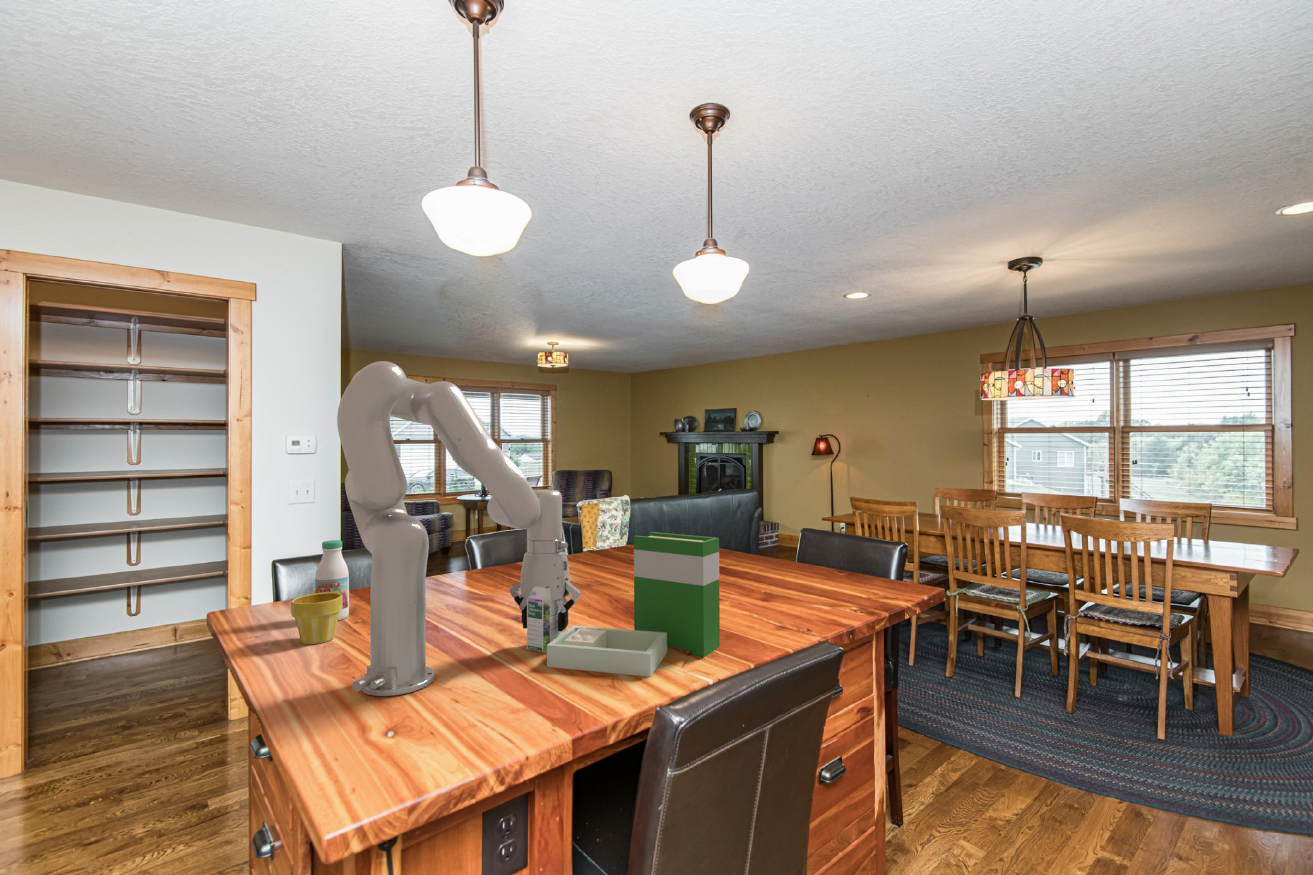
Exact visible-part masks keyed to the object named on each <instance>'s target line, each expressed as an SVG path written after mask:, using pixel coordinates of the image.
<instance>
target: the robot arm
mask: <svg viewBox="0 0 1313 875" xmlns="http://www.w3.org/2000/svg"><path fill="white" fill-rule="evenodd" d="M391 417H394V418H397V419H400V420H401V419H402V420H405V421H407V422H408V421H410V422H412V423H418V424H422V425H427V426H431V428H432V429H433V431H434V432H435V434H436V435H437V436H438V438H439V440H440V442H442V444H443V446H444V447H445V449H446V450H447V452H448V453H449V455H450V456H451V458H452V460H453V461H454V462H455V464H456V465H457V466H459V468H461V469H462V470H463V471H464V472H465V473H467V474H468V475H470V476H472V477H473V478H475V480H477V481H478V482H479V483H480V484H481V485H483V486H484V488H485V489H486V490H487V491H488V492H489V493H490V495H491V497H490V499H489V500H488V503H487V506H486V507H487V508H486V509H487V514H488V517H489V518H490V519H492V521H493V522H495V523H496V524H498V525H501V526H504V527H508V528H509V527H510V528H513V529H517V530H526V552H525V553H524V555H523V560H522V565H521V570H520V571H521V572H520V581H519V582H517V583H516V584H514V585H513V586H512V587H510V588H509V590H508V591H509V593H510V595H511V597H512V598H513V600H514V602H515V603H516V604H517V605H518V608H519V610H521V623H522V629H526V630H527V598H528V597H529V595H530V593H531V591H532V589H533V588H534V587H550V592H551V600H552V601H555V602H556V603H557V605H558V607H559V609H560V612H559V613H558V631H565V630H566V629H567V627H568V626H569V610H570V609H571V608H572V607H573V606H574V605H575V604H576V602H577V601H579V598H580V597H581V596H582V592H581V590H579V589H578V588H577V587H575V585H573V584H572V583H571V576H570V567H569V561H568V556H567V552H566V551H563V550H565V549H568V546H569V544H568V542H566V541H564V538H563V496H562V493H561V492H560V491H559V490H556V489H533V488H532V486H531V484H530V483H529V481H528V480H527V478H526V477H525V475H524V473H522V471H521V470H520V468H518V466H517V465H516V464H515V463H514V462H513V460H511V459H510V457H509V456H507V454H506V453H505V452H504V451H503V449H501V448H500V447H499V445H497V444H496V442H495V441H494V440H493V438H492V437H491V435H490V434H489V432H488V430H487V428H485V426H484V424H483V423H482V421H481V420H480V418H479V416H478V415H477V413H476V412H475V410H474V408H473V407H472V405H471V403H470V402H469V401H468V399H467V397H466V396H465V394H464V393H463V391H462V390H461V389H460V388H459V387H458V386H457V385H456V384H454V383H452V382H449V381H446V380H445V381H435V382H431V383H428V382H422V381H418V380H414V379H411V378H408V377H407V375H406V374H405V372H404V370H403V369H402V367H400V366H399V365H397V364H396V363H394V362H391V361H385V360H381V361H380V360H379V361H375V362H372V363H369V364H367V365H366V366H365V367H364V366H363V368H362V369H360V370H359V371H357V372H356V373H355V374H354V376H353V377H352V378H351V381H350V383H348V385H347V386H346V388H345V390H344V392H343V394H342V396H341V399H340V401H339V404H338V408H337V416H336V422H337V423H336V425H337V432H338V435H339V440H340V444H341V447H342V451H343V454H344V455H343V456H344V458H345V461H346V464H347V468H348V471H347V474H346V476H345V481H344V486H345V487H344V488H345V493H346V496H347V501H348V503H349V507H350V509H351V512H352V516H353V519H354V522H355V524H356V527H357V530H358V534H359V536H360V539H361V540H362V543H363V545H364V547H365V549H366V550H367V551H368V552H369V553H370V554H371V556H372V557H371V558H372V560H371V574H370V586H369V587H370V593H369V594H370V596H369V598H370V600H369V602H370V607H369V608H370V609H369V610H370V613H369V614H370V619H369V620H370V622H369V623H370V625H369V629H370V630H369V631H370V633H369V634H370V639H369V640H370V642H369V646H370V647H369V649H370V655H369V656H370V658H369V660H370V665H367V667H366V673H365V674H364V675H363V676H362V677H359V678H358V679H356V680H354V681H353V682H352V684H351V689H352V691H353V692H355V693H358V692H360V691H362V692H363V693H364V694H366V695H370V696H373V697H374V696H376V697H392V696H393V697H394V696H400V695H405V694H410V693H412V692H416V691H419V690H420V689H423V688H426V687H427V686H429V685H430V684H431V683H432V682H433V681H434V680H435V670H434V669H433V668H432V667H430V666H427V665H426V664H427V663H426V662H427V661H426V660H427V659H426V653H427V652H426V651H427V649H426V648H427V647H426V644H427V643H426V642H427V641H426V640H427V638H426V636H427V628H426V626H427V625H426V624H427V623H426V622H427V620H426V619H427V618H426V616H427V611H426V610H427V608H426V607H427V603H426V600H427V599H426V598H427V597H426V596H427V595H426V593H427V592H426V586H427V585H426V584H427V583H426V580H427V576H426V575H427V565H428V558H429V549H430V545H429V544H430V541H429V536H428V532H427V529H426V527H425V526H424V524H423V523H422V522H421V521H420V520H419V519H417V518H416V517H414V516H412V515H411V514H409V513H408V511H407V508H406V504H405V502H404V499H405V497H406V494H407V491H408V481H407V478H406V474H405V472H404V469H403V466H402V463H401V461H400V458H399V455H398V454H399V453H398V451H397V448H396V446H395V442H394V437H393V434H392V428H391V423H390V422H391ZM569 595H571V597H570V598H569V600H568V598H567V597H568V596H569Z"/></svg>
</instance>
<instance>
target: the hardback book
mask: <svg viewBox="0 0 1313 875" xmlns="http://www.w3.org/2000/svg"><path fill="white" fill-rule="evenodd" d="M720 605H721V604H720V538H719V537H714V536H713V537H711V536H704V535H703V536H702V535H701V536H700V535H691V534H690V535H689V534H679V533H678V534H677V533H667V532H666V533H665V532H656V531H650V532H649V535H647V536H646V535H643V536H642V535H634V536H633V611H634V612H633V613H634V614H633V615H634V616H633V628H634V629H633V630H639V631H652V632H665V633H667V648H672V649H677V650H681V651H687V652H688V653H687V655H688V656H693V657H697V656H698V657H697V658H703V659H705V658H706V657H707V655H708V654H709V655H711V654H712V653H714V652H715V651H717V650H718V649H717V648H719V647H721V640H720V639H721V631H720V630H721V629H720V628H721V624H720V620H721V619H720V612H721V611H720ZM716 649H717V650H716ZM719 649H720V648H719ZM714 650H715V651H714ZM713 651H714V652H713ZM710 653H711V654H710ZM709 655H708V656H709ZM705 656H706V657H705ZM704 657H705V658H704Z"/></svg>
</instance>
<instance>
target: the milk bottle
mask: <svg viewBox="0 0 1313 875" xmlns="http://www.w3.org/2000/svg"><path fill="white" fill-rule="evenodd" d="M342 550H343V541H342V540H341V539H335V540H334V539H333V540H332V539H331V540H325V541H322V543H321V551H322V557H321V559H320V562H319V563H318V566H317V568H316V571H315V578H314V594H316V593H327V592H335V593H340V594H342V596H343V607H342V610H341V611H339V616H338V621H342V620H344V619H346V618H348V617H349V614H350V613H349V612H350V588H349V587H350V582H349V581H350V580H349V578H350V576H349V568H348V565H347V562H346V561H345V559H344V557H343V553H342Z"/></svg>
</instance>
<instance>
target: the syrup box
mask: <svg viewBox="0 0 1313 875" xmlns="http://www.w3.org/2000/svg"><path fill="white" fill-rule="evenodd" d="M559 612H560V609H559V607H558V605H557V603H556V602H555V601H552V600H551V592H550V587H534V588H533V589H532V591H531V593H530V595H529V597H528V598H527V628H526V650H529V651H533V652H539V653H543V654H547V645H548V644H549V643H550V642H552V641H553V640H554V639H556V638H557V637H558V636H560V635H561V634H562V633H564V632H563V631H564V630H563V631H558V613H559Z"/></svg>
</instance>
